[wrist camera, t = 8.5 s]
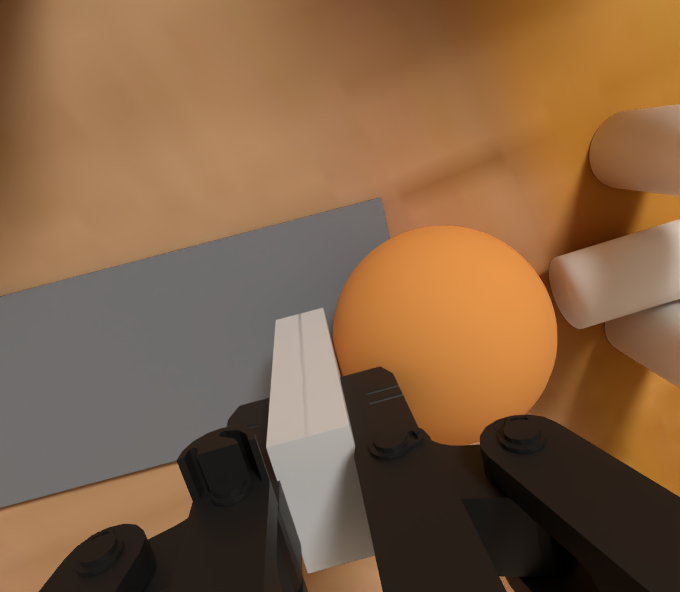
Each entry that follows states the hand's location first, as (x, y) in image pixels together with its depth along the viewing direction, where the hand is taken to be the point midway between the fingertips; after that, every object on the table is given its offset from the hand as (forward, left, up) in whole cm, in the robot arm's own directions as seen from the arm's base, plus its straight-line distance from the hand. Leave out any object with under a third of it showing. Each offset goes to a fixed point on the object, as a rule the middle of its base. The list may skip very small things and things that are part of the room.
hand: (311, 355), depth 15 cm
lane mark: (-5, 0, -2) cm, 5 cm away
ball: (+4, 0, +1) cm, 4 cm away
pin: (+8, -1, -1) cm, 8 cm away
